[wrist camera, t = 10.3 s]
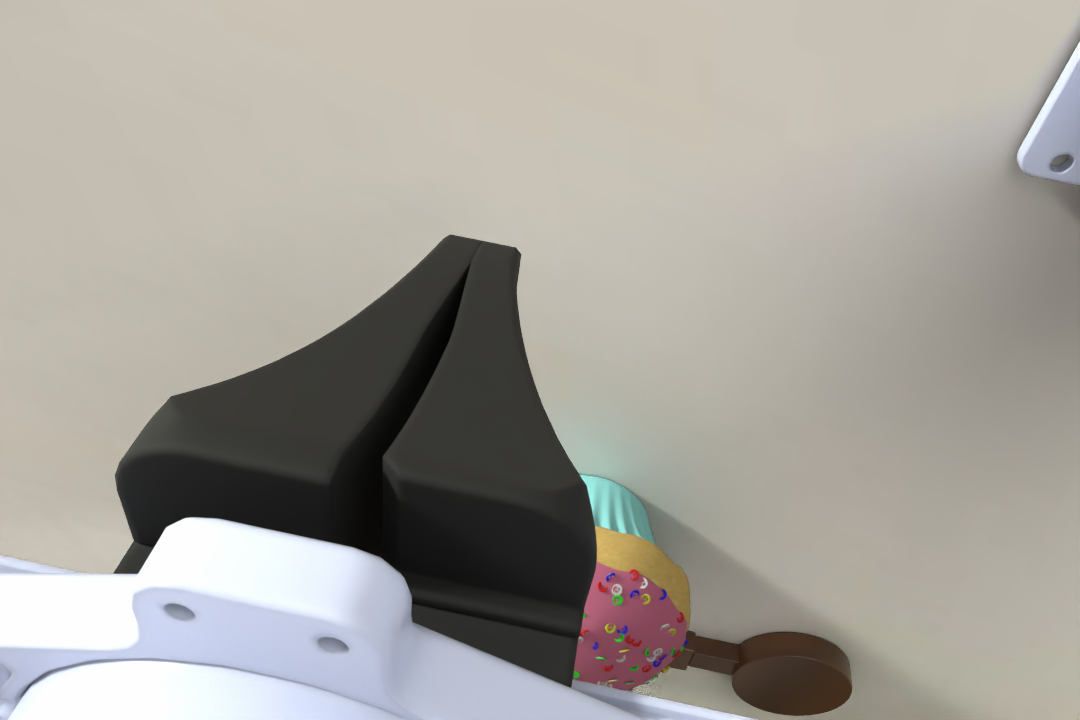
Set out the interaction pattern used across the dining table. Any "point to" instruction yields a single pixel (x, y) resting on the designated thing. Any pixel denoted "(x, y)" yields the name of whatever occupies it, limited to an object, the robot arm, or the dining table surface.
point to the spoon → (776, 670)
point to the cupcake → (629, 596)
